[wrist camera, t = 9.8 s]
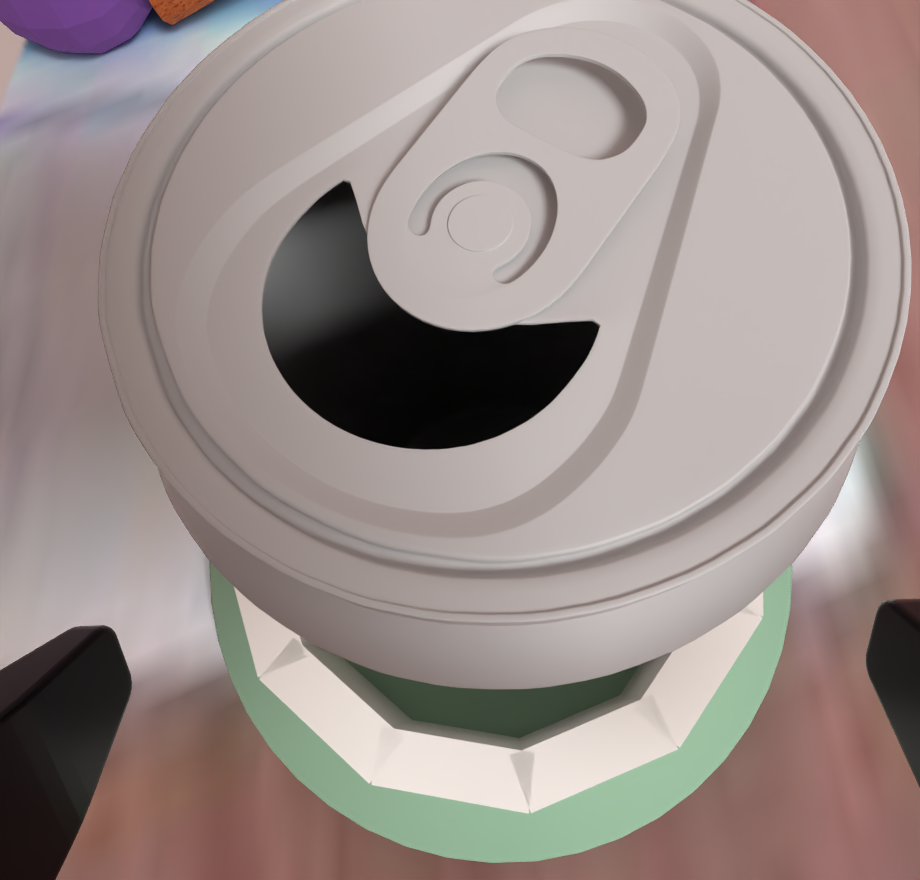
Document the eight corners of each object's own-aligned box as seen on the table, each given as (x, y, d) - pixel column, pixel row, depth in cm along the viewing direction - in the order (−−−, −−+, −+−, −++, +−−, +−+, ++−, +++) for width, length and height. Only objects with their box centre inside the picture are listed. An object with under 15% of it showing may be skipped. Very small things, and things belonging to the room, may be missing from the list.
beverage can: (317, 570, 16) (-158, 317, 5) (471, 371, 17) (403, -192, 6) (538, 740, 14) (653, 1006, 3) (686, 505, 16) (1139, 80, 4)
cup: (785, 914, 13) (859, 980, 11) (149, 793, 15) (66, 820, 12) (779, 318, 18) (830, 251, 15) (291, 273, 19) (254, 205, 17)
